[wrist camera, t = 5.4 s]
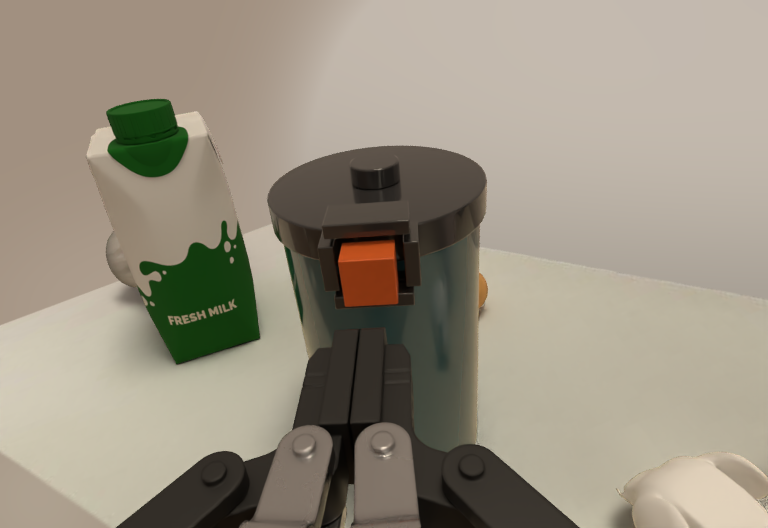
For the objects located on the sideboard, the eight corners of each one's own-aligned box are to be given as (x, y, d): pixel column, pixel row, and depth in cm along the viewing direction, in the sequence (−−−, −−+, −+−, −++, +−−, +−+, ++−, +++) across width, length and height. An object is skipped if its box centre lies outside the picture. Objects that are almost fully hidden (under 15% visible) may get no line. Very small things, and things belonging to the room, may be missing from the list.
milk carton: (165, 375, 40) (59, 127, 29) (162, 315, 47) (76, 99, 37) (273, 341, 42) (210, 101, 32) (254, 289, 50) (198, 80, 39)
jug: (336, 349, 41) (295, 121, 31) (467, 343, 40) (466, 107, 30) (307, 526, 28) (222, 232, 18) (498, 522, 27) (514, 212, 18)
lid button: (348, 286, 20) (341, 242, 19) (398, 283, 20) (394, 239, 19) (344, 307, 19) (337, 261, 18) (398, 304, 18) (394, 258, 17)
